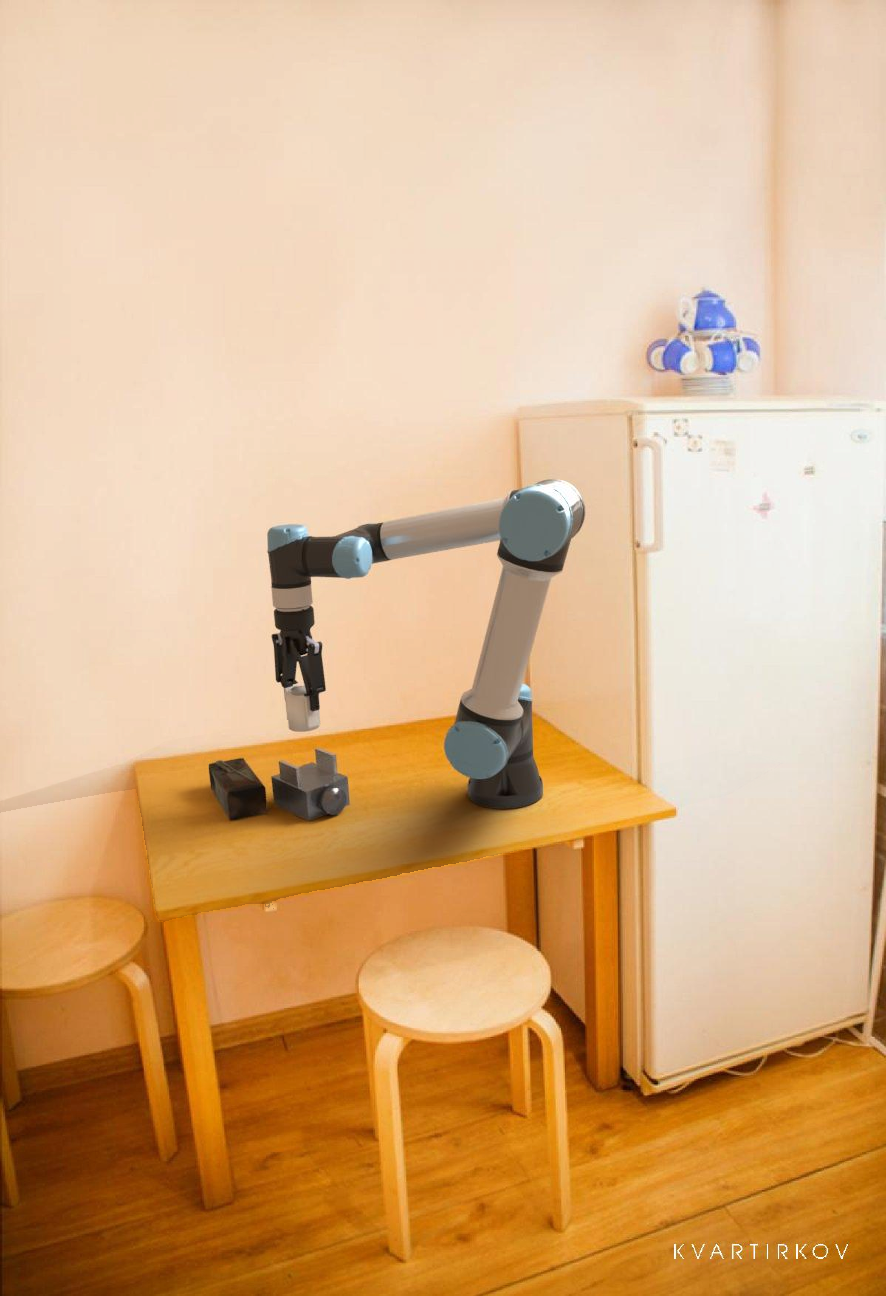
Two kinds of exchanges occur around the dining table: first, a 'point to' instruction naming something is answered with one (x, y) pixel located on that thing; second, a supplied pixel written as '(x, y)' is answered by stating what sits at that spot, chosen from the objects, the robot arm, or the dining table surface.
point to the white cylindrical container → (297, 710)
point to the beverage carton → (237, 789)
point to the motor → (311, 787)
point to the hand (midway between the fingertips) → (303, 721)
